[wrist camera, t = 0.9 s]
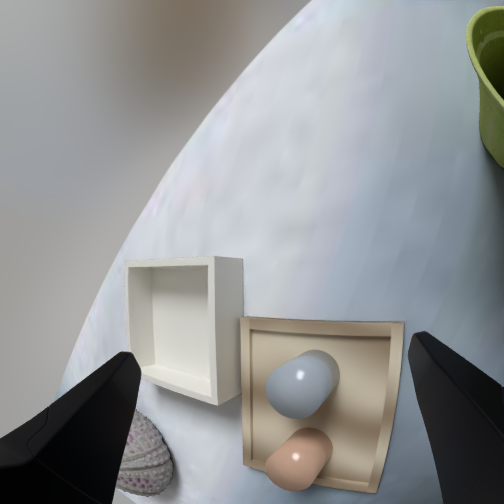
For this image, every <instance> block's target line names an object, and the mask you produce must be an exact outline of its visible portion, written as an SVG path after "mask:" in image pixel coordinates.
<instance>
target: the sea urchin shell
mask: <svg viewBox="0 0 504 504" xmlns="http://www.w3.org/2000/svg"><path fill="white" fill-rule="evenodd" d="M172 464H173V463H172V461H171V460H170V452H169V451H168V450H167V446H166V445H165V444H164V443H163V441H162V436H161V435H160V434H159V431H158V430H157V429H156V428H155V426H154V425H152V423H151V422H150V421H149V419H147V418H146V417H145V416H143V414H142V413H138V412H137V409H135V413H134V417H133V420H132V424H131V428H130V431H129V435H128V439H127V443H126V446H125V450H124V454H123V458H122V462H121V466H120V470H119V474H118V479H117V483H116V488H120V489H122V490H123V491H124V492H126V491H127V492H129V493H131V494H136V495H141V496H146V497H149V496H154V495H155V494H160V492H162V491H164V489H166V486H167V485H168V484H170V479H171V478H172V472H173V469H172V467H173V465H172Z"/></svg>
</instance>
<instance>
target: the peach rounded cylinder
mask: <svg viewBox="0 0 504 504" xmlns="http://www.w3.org/2000/svg"><path fill="white" fill-rule="evenodd" d="M332 451H333V445H332V442H331V440H330V438H329V437H328V436H327V435H326V434H325V433H324V432H322V431H320V430H318V429H315V428H301V429H299V430H297V431H295V432H294V433H293V434H292V435H291V436H290V437H289V438H288V439H287V440H286V441H285V442H284V443H283V444H282V445H281V446H280V447H279V448H278V449H277V450H276V451H275V452H274V453H273V454H272V455H271V456H270V457H269V458H268V459H267V461H266V463H265V471H266V474H267V476H268V477H269V479H270V480H271V481H272V482H273V483H274V484H276V485H277V486H279V487H280V488H283V489H285V490H289V491H301V490H305V489H307V488H308V487H309V486H310V485H311V484H312V483H313V481H314V480H315V478H316V477H317V476H318V474H319V473H320V471H321V470H322V468H323V467H324V465H325V464H326V462H327V461H328V459H329V457H330V456H331V454H332Z"/></svg>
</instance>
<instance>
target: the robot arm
mask: <svg viewBox="0 0 504 504" xmlns="http://www.w3.org/2000/svg"><path fill="white" fill-rule="evenodd" d="M408 360H409V364H410V369H411V373H412V378H413V382H414V387H415V392H416V397H417V400H418V404H419V407H420V410H421V414H422V417H423V420H424V424H425V427H426V431H427V434H428V438H429V441H430V445H431V449H432V453H433V457H434V461H435V465H436V469H437V474H438V478H439V483H440V488H441V493H442V498H443V503H444V504H504V387H502V386H501V385H500V384H499V383H498V382H496V381H495V380H494V379H492V378H491V377H490V376H488V375H487V374H485V373H484V372H483V371H481V370H480V369H479V368H477V367H476V366H474V365H473V364H472V363H470V362H469V361H467V360H466V359H465V358H463V357H462V356H460V355H459V354H458V353H456V352H455V351H453V350H452V349H451V348H449V347H448V346H446V345H445V344H443V343H442V342H441V341H439V340H438V339H436V338H435V337H433V336H432V335H431V334H429V333H428V332H426V331H422V332H417V333H414V334H413V336H412V339H411V343H410V347H409V350H408ZM141 374H142V372H141V368H140V366H139V364H138V362H137V360H136V358H135V356H134V355H133V353H131V352H123V351H122V352H119V353H118V354H117V355H115V356H114V357H113V358H111V359H110V360H109V361H107V362H106V363H105V364H103V365H102V366H101V367H100V368H98V369H97V370H96V371H94V372H93V373H92V374H90V375H89V376H88V377H86V378H85V379H84V380H82V381H81V382H80V383H78V384H77V385H76V386H74V387H73V388H72V389H71V390H69V391H68V392H67V393H65V394H64V395H63V396H61V397H60V398H59V399H57V400H56V401H55V402H53V403H52V404H51V405H50V406H49V407H47V408H45V409H44V410H43V411H42V412H40V413H39V414H37V415H36V416H35V417H33V418H32V419H31V420H29V421H27V422H26V423H24V424H23V425H21V426H20V427H18V428H16V429H15V430H13V431H12V432H10V433H9V434H7V435H5V436H4V437H2V438H0V504H112V501H113V496H114V492H115V487H116V483H117V479H118V474H119V470H120V466H121V462H122V458H123V454H124V450H125V446H126V443H127V439H128V435H129V431H130V428H131V424H132V420H133V417H134V413H135V408H136V403H137V397H138V391H139V386H140V380H141Z"/></svg>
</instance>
